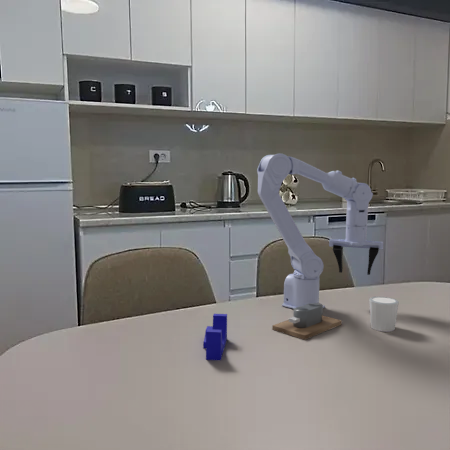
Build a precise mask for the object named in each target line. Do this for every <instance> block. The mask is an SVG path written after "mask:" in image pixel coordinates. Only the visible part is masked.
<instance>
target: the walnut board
mask: <svg viewBox="0 0 450 450" xmlns="http://www.w3.org/2000/svg"><path fill="white" fill-rule="evenodd" d="M342 323H343V321H342V320H341V319H338V318H334V317H331V316H326V315H323V314H322V322H320V323H317V324H315V325H312V326H309V327H307V328H296V327H294V326H293V323H291V322H289V319H287V320H284V321H282V322H278V323H275V324H273V325H272V327H271V329H272V330H273V331H277V332H279V333H282V334H285V335H289V336H292V337H294V338H298V339H301V340H305V341H306V340H307V339H309V338H313V337H315V336H317V335H320V334H322V333H324V332H326V331H330V330H331V329H334V328H337V327H339V326H341V325H342Z"/></svg>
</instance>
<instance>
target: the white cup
mask: <svg viewBox="0 0 450 450" xmlns="http://www.w3.org/2000/svg"><path fill="white" fill-rule="evenodd" d="M368 302H369V317H370V318H369V319H370V328H371V329H372V330H374V331H378V332H385V333H386V332H390V333H391V332H393V331H395V328H396V324H397V323H396V322H397V317H398V310H399V300H398V299H396V298H392V297H388V296H373V297H369V300H368Z"/></svg>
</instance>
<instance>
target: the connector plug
mask: <svg viewBox="0 0 450 450" xmlns="http://www.w3.org/2000/svg"><path fill="white" fill-rule="evenodd" d="M323 305H324V304H322V303H320V302H319V303H309V304H306V305H303V306H300V307H297V308H294V309H293V316H292V317H289V318H288V320H289V322H291V323H293V326H294V327H296V328H307V327H309V326H312V325H315V324H317V323H320V322H322V315H323V312H324V311H323V309H324V308H323Z"/></svg>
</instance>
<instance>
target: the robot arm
mask: <svg viewBox="0 0 450 450" xmlns="http://www.w3.org/2000/svg"><path fill="white" fill-rule="evenodd" d="M256 173H257V194H258V197H259V199H260V201H261V203H262V204H263V206H264V208H265V210H266V211H267V213H268V215H269V217H270V218H271V220H272V222H273V224H274V225H275V228H276V229H277V232H278V233H279V235H280V237H282V238H281V239H282V240H283V241H284V243H285V244H284V245H286V246H287V250H288V251H287V254H288V255H289V257H290V264H291V267H292V268H293V270H294V271H293V273H289V274H287V276H286V277H285V279H284V283H283V303H282V304H281V306H282V307H286V308H289V309H293V310H294V308H297V307H300V306H303V305H306V304H309V303H320V302H319V301H320V278H321V277H320V276H321V274H322V273H323V271H324V262H323V260H322V259H321V257H320V256H318V255H316V253H315V252H314V251H313V249H312V248H311V246H310V245H309V243H307V242H306V240H305V239H304V237H303V235H302V233H301V232H300V229H299V227H298V226H297V224H296V221H294V218H293V216H292V215H291V213H290V211H289V210H288V208H287V205H286V204H285V202H284V200H283V198H282V197H281V195H280V193H279V191H280V189H281V187H282V184H283V182H284V181H285V180H286V178H287V177H288V176H289V175H299V176H302V177H304V178H306V179H309V180H311V181H314V182H316V183H320V184H321V186H322V188H323V190H324V191H327V192H329V193H331V194H333V195H336V196H337V197H340V198H342V199H345V201H346V215H345V216H346V218H345V219H346V220H345V238H343V239H341V238H340V239H339V238H330V239H329V242H328V246H329V247H331V248H332V252H333V253H334V256H335V258H336V263H337V265H338V272H339V273H343V252H344V251H343V250H344V248H355V249H356V248H357V249H369V250H368V264H367V275H371V271H372V267H373V264H374V262H375V260H376V257H377V256H378V254H379V250H384V241H375V240H368V239H367V236H368V234H367V233H368V218H369V215H368V213H369V212H368V211H369V203H370V201H372V199H373V196H374V193H373V192H372V188H371V186H369V184H368V183H366V182H358V181H357V178H355V177H352V178H351V177H349V176H346V175H345V174H343V172H342V171H340V170H332V171H329V172H325V171H324V170H322V169H319V168H318V167H315V166H314V165H312V164H310V163H308V162H305V161H303V160H301V159H299V158H296V157H295V156H294V157H293V156H289V155H288V156H287V154H284V153H282V152H281V153H276V154H267V155H264V156H263V157H262V158H261V160H260V162H259V164H258V166H257V169H256ZM322 305H323V309H324V308H326V305H324V304H322Z"/></svg>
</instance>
